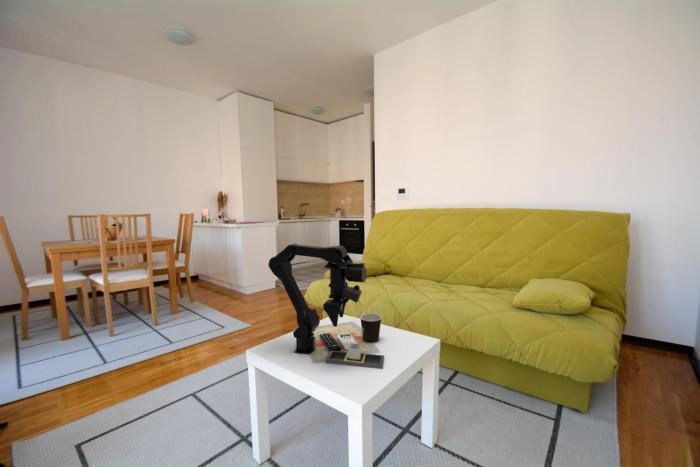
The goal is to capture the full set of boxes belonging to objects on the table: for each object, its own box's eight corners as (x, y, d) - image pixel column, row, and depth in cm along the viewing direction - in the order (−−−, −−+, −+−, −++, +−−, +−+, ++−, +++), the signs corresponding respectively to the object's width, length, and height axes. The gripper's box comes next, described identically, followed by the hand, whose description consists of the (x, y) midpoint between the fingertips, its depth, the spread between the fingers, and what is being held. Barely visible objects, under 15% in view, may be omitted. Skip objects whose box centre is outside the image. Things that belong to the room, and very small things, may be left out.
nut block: (348, 363, 103) (348, 347, 103) (350, 357, 108) (350, 342, 107) (360, 364, 103) (359, 348, 102) (362, 358, 107) (362, 343, 106)
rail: (325, 364, 104) (325, 358, 104) (330, 355, 110) (330, 350, 110) (382, 370, 100) (382, 364, 100) (384, 360, 106) (384, 355, 106)
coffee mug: (380, 346, 117) (380, 321, 117) (358, 344, 119) (358, 320, 118) (382, 334, 129) (382, 311, 128) (363, 332, 131) (363, 310, 130)
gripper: (354, 288, 97) (355, 333, 99) (363, 275, 115) (364, 314, 117) (322, 286, 100) (323, 331, 101) (336, 274, 118) (336, 312, 119)
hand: (338, 321), depth 109 cm, fingers open, 9 cm apart
